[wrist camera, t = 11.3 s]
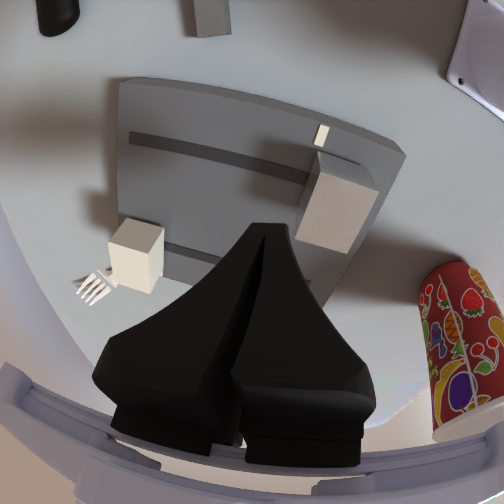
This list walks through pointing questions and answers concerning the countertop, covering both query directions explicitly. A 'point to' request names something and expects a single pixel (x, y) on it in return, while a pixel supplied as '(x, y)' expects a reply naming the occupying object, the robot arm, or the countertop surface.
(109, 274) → the fork
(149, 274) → the block
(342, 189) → the steel fader
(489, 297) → the smoothie
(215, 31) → the gun
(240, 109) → the gray slider board
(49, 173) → the countertop surface
